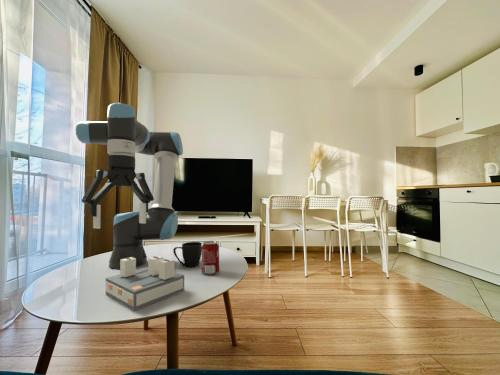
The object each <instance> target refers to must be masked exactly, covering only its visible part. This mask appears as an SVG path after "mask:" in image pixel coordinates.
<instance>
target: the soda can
mask: <svg viewBox="0 0 500 375" xmlns="http://www.w3.org/2000/svg"><path fill="white" fill-rule="evenodd" d="M219 272H220V245H219V244H218V241H216V240H205V241H203V242H202V252H201V273H202V274H204V275H205V276H214V275H216V274H218V273H219Z"/></svg>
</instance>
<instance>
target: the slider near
mask: <svg viewBox="0 0 500 375" xmlns="http://www.w3.org/2000/svg"><path fill="white" fill-rule="evenodd" d="M174 272H175V259H172V258H167V259H164V258H163V260H162V261H159V278H161V279H164V280H165V279H168V278H171V277H174Z"/></svg>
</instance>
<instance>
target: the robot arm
mask: <svg viewBox="0 0 500 375" xmlns="http://www.w3.org/2000/svg"><path fill="white" fill-rule="evenodd" d="M136 117H137V115H136V109H135V108H134V107H133V106H132V105H130V104H127V103H120V102H113V103H111V104H109V105H108V106H107V115H106V118H107V121H92V120H91V121H90V120H87V121H79V122H77V124H76V126H75V136H76V138H77V140H78V141H79V142H80V143H82V144H90V145H93V144H94V145H95V144H96V145H103V146H106V147H107V150H106V151H107V154H108V155H107V158H106V160H107V163H106V167H107V170H103V169H97V170H95V172H94V178H93V180H92V182H91V183H90V184H89V187H88V188H87V189H86V191H85V193H84V195H83V197H82V198H81V202H82V203H83V204H87V205H89V216H90V217H91V218H93V219H92V229H99V230H100V229H101V212H102V211H101V210H102V209H101V206H102V205H101V204H98V203H100V201H102V199H103V198H104V197H105V196H106V195H107V193H109V192H110V191H111V189H112V188H114V187H128V188H130V189H131V191H132V192H133V193H134V195H135V196H136V197H137V199H139V201H140V202H139V204H138V208H139V209H138V210H137V211H136V210H135V211H130V212H129V211H128V212H124V213H117V214H116V215H114V217H113V224H112V226H113V249H112V251H111V255H110V257H109V261H108V268H109V269H114V270H120V259H125V258H130V257H133V258H136V268H137V267H140V266H143V265H146V264H147V263H148V256H147V253H146V250H145V247H144V246H143V244H144V243H143V242H144V241H155V240H157V241H159V240H161V241H163V240H172V239H173V238H174V237H175V234H176V233H177V230H178V224H179V216H178V214H177V213H175V209H174V208H173V206H172V204H173V194H174V192H173V191H174V182H175V179H174V178H175V170H176V169H175V168H176V162H177V161H179V159H180V158H179V157H180V156H183V153H184V150H183V142H182V141H183V140H182V137H181V135H180V133H178V132H177V131H175V132H174V131H165V132H164V131H163V132H161V131H159V132H158V131H150V130H149V129H148V128H147V127H146V125H144V124H143V123H141V122H140V121H138V120H137V119H136ZM136 153H137V154H140V155H141V154H143V155H146V156H154V158H155V159H156V166H155V168H156V169H155V176H154V184H153V186H154V187H153V193H152V191H151V188H150V187H149V184H148V182H147V180H146V176H145V173H144V172H138V173H137V172H135V170H136V157H135V155H136ZM105 177H107V182H105V184H104V185H103V187H101V189H100V190H99V191H98V192H97V189H98V188H99V186H100V185H101V183H102V181H103V179H104V178H105ZM135 179H136V180H137V183H136V181H135ZM138 183H139V184H138ZM138 185H139V186H138ZM95 193H96V194H95ZM151 202H152V203H151ZM150 203H151V206H150V207H149V204H150Z"/></svg>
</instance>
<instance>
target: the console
mask: <svg viewBox="0 0 500 375" xmlns="http://www.w3.org/2000/svg"><path fill="white" fill-rule="evenodd" d="M182 292H185V274H182V273H179V272H175V271H174V277H171V278H168V279H165V280H164V279H161V278H159V274H158V275H154V276H153V275H150V274H148V266H146V267H141V268H139V269H136V274H135V275H131V276H128V277H123V276H120V273H119V274H116V275H112V276H108V277H105V296H108V297H110V298H112V299H113V300H115V301H117V302H119V304H122V305H124V306H125V307H127V308H128V309H130V310H132V311H138V310H141V309H143V308H145V307H148V306H150V305H153V304H155V303H157V302H161V301H163V300H166V299H169V298H170V297H173V296H175V295H177V294H180V293H182Z"/></svg>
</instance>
